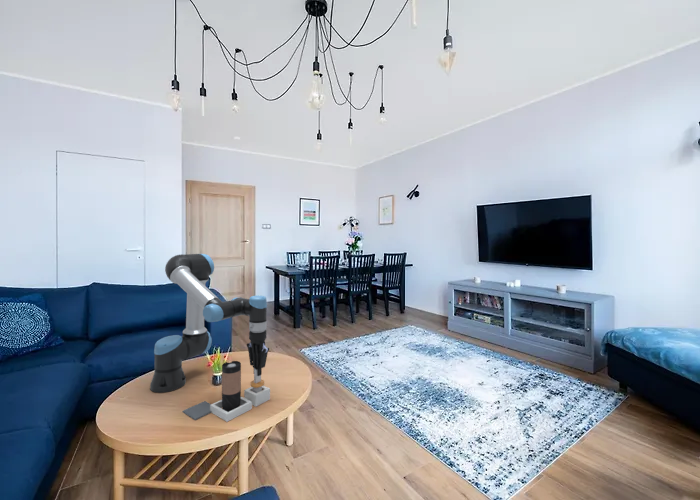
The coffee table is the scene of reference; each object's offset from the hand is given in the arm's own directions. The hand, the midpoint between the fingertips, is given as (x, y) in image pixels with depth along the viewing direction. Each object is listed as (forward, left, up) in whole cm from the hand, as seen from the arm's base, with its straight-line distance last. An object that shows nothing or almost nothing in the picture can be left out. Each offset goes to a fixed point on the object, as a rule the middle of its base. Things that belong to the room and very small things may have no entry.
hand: (257, 381), depth 141 cm
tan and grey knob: (0, 0, -8) cm, 8 cm away
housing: (0, 0, -9) cm, 9 cm away
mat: (-12, -20, -9) cm, 25 cm away
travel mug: (-2, -12, -9) cm, 15 cm away
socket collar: (-2, -12, -9) cm, 15 cm away
